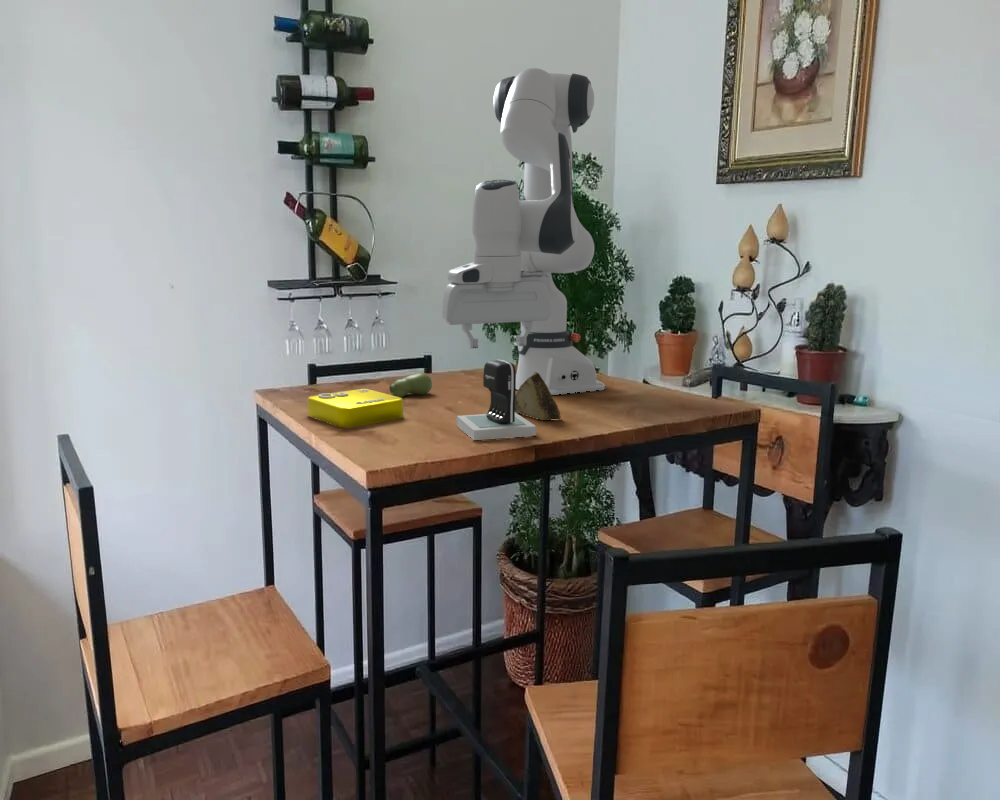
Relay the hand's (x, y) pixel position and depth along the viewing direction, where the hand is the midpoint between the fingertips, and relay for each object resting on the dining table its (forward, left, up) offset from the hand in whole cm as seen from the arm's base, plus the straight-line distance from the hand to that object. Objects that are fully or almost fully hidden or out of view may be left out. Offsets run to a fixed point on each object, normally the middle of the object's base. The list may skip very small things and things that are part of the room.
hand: (497, 346), depth 145 cm
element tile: (+24, -19, -17) cm, 35 cm away
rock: (-12, -10, -17) cm, 22 cm away
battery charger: (0, +1, -14) cm, 14 cm away
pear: (+9, -38, -17) cm, 42 cm away
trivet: (0, 0, -16) cm, 16 cm away
